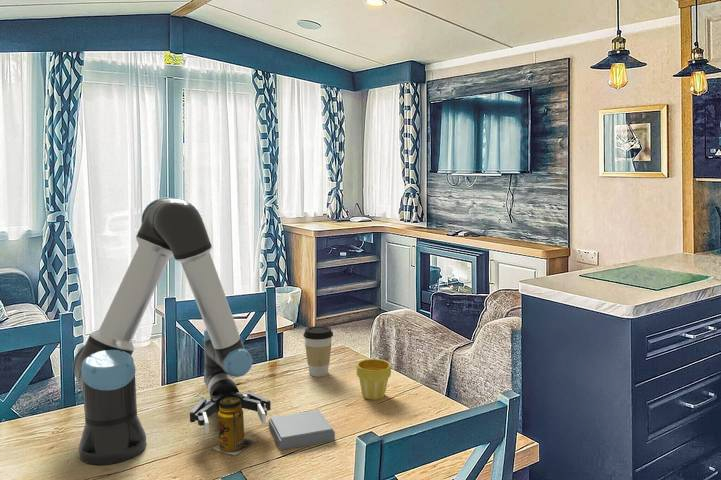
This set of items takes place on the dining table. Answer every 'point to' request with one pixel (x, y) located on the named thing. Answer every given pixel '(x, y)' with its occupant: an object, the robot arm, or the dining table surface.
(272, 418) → the grey square coaster
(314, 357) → the coffee cup
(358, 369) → the plant pot
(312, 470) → the dining table surface
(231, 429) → the condiment
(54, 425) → the dining table surface
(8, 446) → the dining table surface
